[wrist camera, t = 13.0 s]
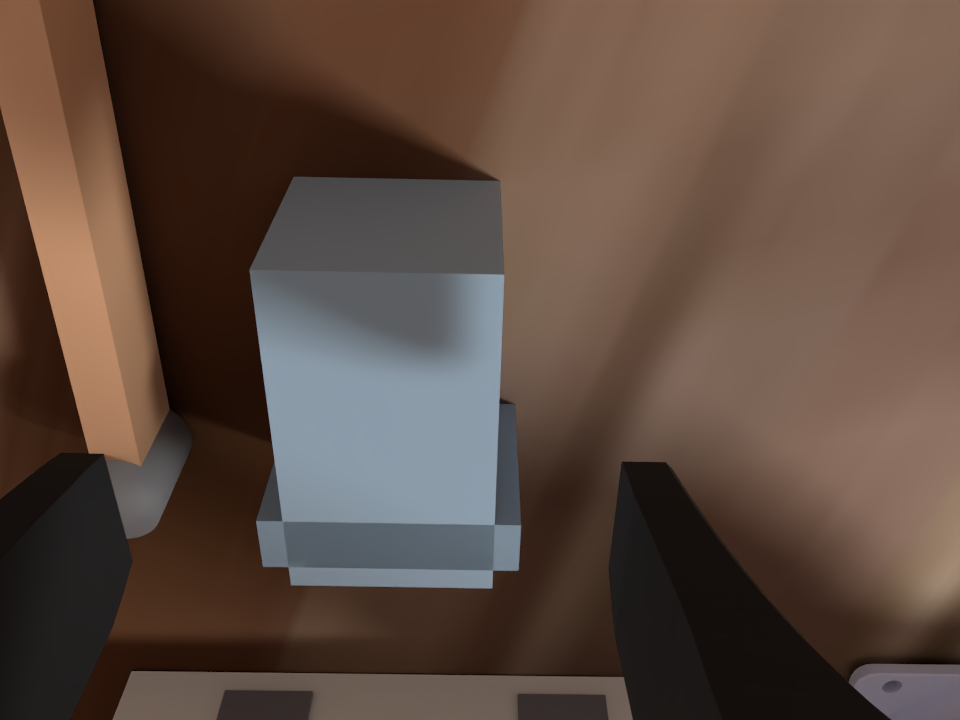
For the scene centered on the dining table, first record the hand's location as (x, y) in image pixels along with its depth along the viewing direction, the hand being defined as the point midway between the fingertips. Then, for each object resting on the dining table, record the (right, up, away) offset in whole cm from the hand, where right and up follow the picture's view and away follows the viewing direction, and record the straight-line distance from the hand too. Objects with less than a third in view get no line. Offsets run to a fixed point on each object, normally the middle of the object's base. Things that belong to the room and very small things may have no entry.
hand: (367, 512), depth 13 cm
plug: (0, +3, +7) cm, 7 cm away
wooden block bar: (-6, +5, +5) cm, 9 cm away
